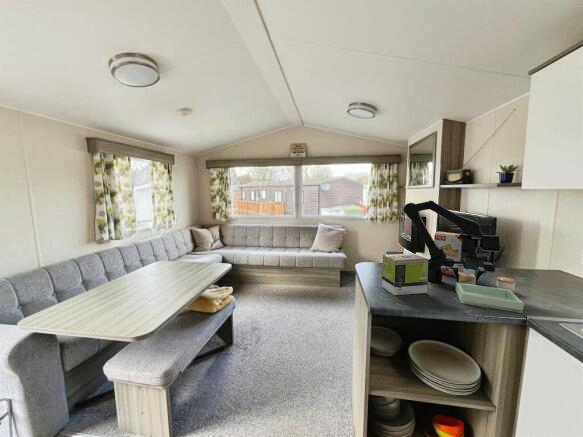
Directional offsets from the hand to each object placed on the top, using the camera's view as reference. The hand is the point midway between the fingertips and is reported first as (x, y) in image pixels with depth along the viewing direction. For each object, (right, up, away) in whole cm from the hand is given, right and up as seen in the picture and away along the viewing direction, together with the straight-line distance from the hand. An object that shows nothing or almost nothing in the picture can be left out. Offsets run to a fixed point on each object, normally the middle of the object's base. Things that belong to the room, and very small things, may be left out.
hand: (465, 283), depth 114 cm
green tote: (-3, -3, -16) cm, 17 cm away
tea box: (-31, -2, -6) cm, 31 cm away
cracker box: (+3, 0, +17) cm, 18 cm away
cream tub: (+13, -2, -6) cm, 14 cm away
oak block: (0, -1, 0) cm, 1 cm away
